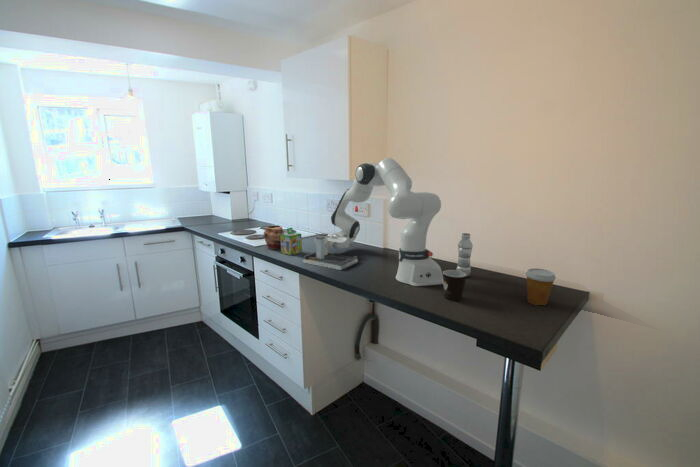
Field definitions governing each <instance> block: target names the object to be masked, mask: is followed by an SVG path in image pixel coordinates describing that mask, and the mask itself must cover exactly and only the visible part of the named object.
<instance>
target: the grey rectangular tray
mask: <svg viewBox="0 0 700 467" xmlns="http://www.w3.org/2000/svg"><path fill="white" fill-rule="evenodd" d="M302 260H303V263H304V264H308V265H312V266H313V265H314V266H317V265H318V267H322V266H323V268H327V267H328V268H327V269H332V268H333V270H338V271H342V270H344V269H346V268H349V267H351V266H353V265H355V264H357V263H358V261H359V260H358V256H357V255H355V256H349V255H348V256H347V255H342V254H337V253H332V252H328V255H324V259H320V258H316V251H315V252H312V253H309V254H306V255H304V256H303V258H302Z"/></svg>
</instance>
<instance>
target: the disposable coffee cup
mask: <svg viewBox="0 0 700 467" xmlns="http://www.w3.org/2000/svg"><path fill="white" fill-rule="evenodd" d="M525 276H526V289H527V290H526V291H527V292H526V294H527V296H526V297H527V303H529V304H531V305H534V306H538V305H545V306H546V304H547V305H548V302H549V298H550V294H551V291H552V288H553V285H554V281H555V280H556V278H557V277H556V274H555V273H554V271H552V270H548V269H544V268H529V269H527V271H526V272H525Z"/></svg>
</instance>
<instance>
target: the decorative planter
mask: <svg viewBox="0 0 700 467" xmlns="http://www.w3.org/2000/svg"><path fill="white" fill-rule="evenodd" d="M284 233H285V231H284V229H283V227H282V226H281V225H276V224H275V225H267V226H265V230H264V232H263V239H264V240H265V243H266V246H267V248H268V249H270V250H281V240H280V234H284Z"/></svg>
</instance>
